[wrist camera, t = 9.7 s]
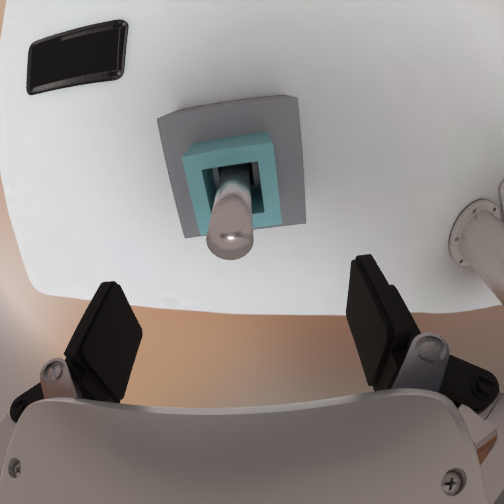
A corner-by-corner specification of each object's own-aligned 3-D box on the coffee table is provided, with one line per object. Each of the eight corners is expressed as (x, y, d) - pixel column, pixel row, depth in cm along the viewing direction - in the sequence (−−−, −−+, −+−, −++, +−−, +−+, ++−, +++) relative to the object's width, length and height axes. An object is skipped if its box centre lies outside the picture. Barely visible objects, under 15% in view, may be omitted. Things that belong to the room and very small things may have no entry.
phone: (121, 79, 25) (26, 96, 24) (124, 79, 26) (31, 95, 25) (127, 17, 21) (29, 42, 20) (130, 19, 22) (34, 42, 21)
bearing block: (284, 95, 28) (297, 97, 21) (293, 193, 35) (306, 223, 28) (176, 110, 29) (156, 118, 22) (196, 205, 35) (184, 238, 28)
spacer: (267, 131, 23) (273, 142, 19) (275, 199, 26) (282, 224, 22) (193, 143, 23) (181, 157, 19) (207, 209, 27) (200, 235, 23)
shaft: (247, 151, 26) (250, 216, 14) (250, 175, 27) (255, 257, 15) (221, 155, 26) (201, 222, 14) (225, 178, 27) (211, 262, 15)
